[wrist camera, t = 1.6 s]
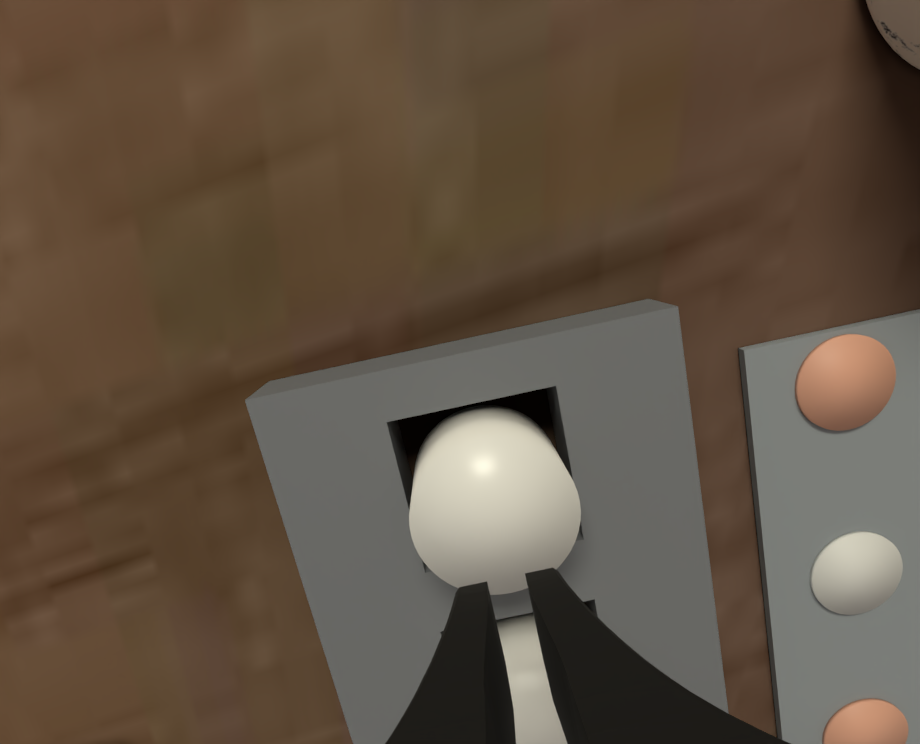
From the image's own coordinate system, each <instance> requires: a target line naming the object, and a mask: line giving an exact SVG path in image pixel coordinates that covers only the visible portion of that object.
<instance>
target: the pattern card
mask: <svg viewBox="0 0 920 744" xmlns="http://www.w3.org/2000/svg"><path fill="white" fill-rule="evenodd" d="M738 350H739V360H740V370H741V380H742V390H743V400H744V410H745V420H746V430H747V439H748V449H749V459H750V469H751V479H752V489H753V499H754V509H755V519H756V529H757V538H758V548H759V558H760V568H761V578H762V588H763V598H764V608H765V618H766V628H767V637H768V647H769V657H770V667H771V677H772V687H773V697H774V707H775V717H776V727H777V736H778V738H779V739H781V740H783V741H786V742H788V743H791V744H920V309H918V310H914V311H909V312H904V313H900V314H895V315H890V316H886V317H881V318H876V319H872V320H867V321H863V322H858V323H853V324H849V325H844V326H839V327H835V328H830V329H825V330H821V331H816V332H811V333H807V334H802V335H797V336H793V337H788V338H784V339H779V340H774V341H770V342H765V343H760V344H756V345H751V346H746V347H742V348H738Z"/></svg>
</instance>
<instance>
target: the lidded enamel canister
mask: <svg viewBox="0 0 920 744" xmlns="http://www.w3.org/2000/svg"><path fill="white" fill-rule="evenodd" d="M866 3H867V6H868V9H869V11H870V14H871V16H872V19H873V21H874V23H875V24H876V26H877V28H878V30H879V32H880V33H881V35H882V36H883V38H884V39H885V41H886V42H887V43H888V44H889V45H890V46H891V48H892V49H893V50H894V51H895V52H896V53H897V54H898V55H899V56H900V57H902V58H903V59H904V60H905V61H907V62H908V63H909V64H911V65H912V66H914V67H916V68H918V69H919V70H920V0H866Z"/></svg>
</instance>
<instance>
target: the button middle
mask: <svg viewBox="0 0 920 744" xmlns="http://www.w3.org/2000/svg"><path fill="white" fill-rule="evenodd" d="M496 623H497V627H498V632H499V636H500V640H501V645H502V649H503V653H504V658H505V662H506V668H507V674H508V680H509V685H510V691H511V697H512V703H513V709H514V722H515V736H516V744H567V741H566V738H565V735H564V732H563V729H562V726H561V723H560V720H559V717H558V714H557V711H556V708H555V705H554V702H553V699H552V694H551V690H550V686H549V682H548V678H547V673H546V669H545V665H544V661H543V656H542V652H541V647H540V642H539V638H538V633H537V628H536V623H535V619H534V614H533V612H532V613H527V614H522V615H518V616H513V617H508V618H503V619H498V620H496Z"/></svg>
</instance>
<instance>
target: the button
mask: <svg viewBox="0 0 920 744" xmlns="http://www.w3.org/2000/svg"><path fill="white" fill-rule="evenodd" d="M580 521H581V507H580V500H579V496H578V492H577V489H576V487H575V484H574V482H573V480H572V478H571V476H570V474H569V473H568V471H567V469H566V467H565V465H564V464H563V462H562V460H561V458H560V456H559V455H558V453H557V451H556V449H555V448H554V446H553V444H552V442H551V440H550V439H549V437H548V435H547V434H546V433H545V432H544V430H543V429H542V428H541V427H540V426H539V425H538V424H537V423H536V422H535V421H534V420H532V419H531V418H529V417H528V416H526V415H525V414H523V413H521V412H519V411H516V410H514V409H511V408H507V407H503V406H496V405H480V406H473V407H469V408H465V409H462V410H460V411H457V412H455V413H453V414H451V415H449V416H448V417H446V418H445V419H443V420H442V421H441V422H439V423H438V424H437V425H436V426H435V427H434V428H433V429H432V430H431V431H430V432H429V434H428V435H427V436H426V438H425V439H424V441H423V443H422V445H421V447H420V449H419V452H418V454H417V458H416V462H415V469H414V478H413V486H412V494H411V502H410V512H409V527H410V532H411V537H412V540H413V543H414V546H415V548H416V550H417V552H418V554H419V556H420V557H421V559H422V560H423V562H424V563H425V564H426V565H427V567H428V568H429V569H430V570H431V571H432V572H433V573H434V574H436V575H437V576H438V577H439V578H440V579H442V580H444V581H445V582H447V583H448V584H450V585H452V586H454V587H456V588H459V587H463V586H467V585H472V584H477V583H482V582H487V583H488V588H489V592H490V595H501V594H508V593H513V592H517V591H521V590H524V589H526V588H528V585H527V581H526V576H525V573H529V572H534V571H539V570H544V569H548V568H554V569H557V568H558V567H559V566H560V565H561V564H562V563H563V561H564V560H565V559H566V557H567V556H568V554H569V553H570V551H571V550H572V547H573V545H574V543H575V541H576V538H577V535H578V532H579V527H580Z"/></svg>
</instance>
